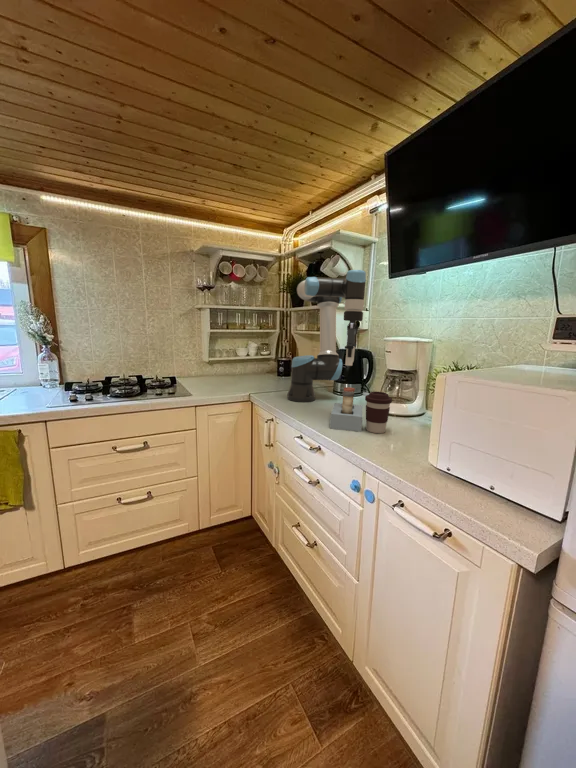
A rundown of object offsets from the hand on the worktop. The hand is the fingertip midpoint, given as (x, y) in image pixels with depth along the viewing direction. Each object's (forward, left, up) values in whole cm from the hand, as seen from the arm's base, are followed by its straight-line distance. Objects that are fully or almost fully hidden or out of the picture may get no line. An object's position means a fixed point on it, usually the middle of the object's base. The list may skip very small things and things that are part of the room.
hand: (349, 363), depth 132 cm
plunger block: (+4, +1, -25) cm, 25 cm away
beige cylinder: (+8, +1, -20) cm, 21 cm away
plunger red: (-1, +1, -20) cm, 20 cm away
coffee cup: (+9, +12, -25) cm, 29 cm away
